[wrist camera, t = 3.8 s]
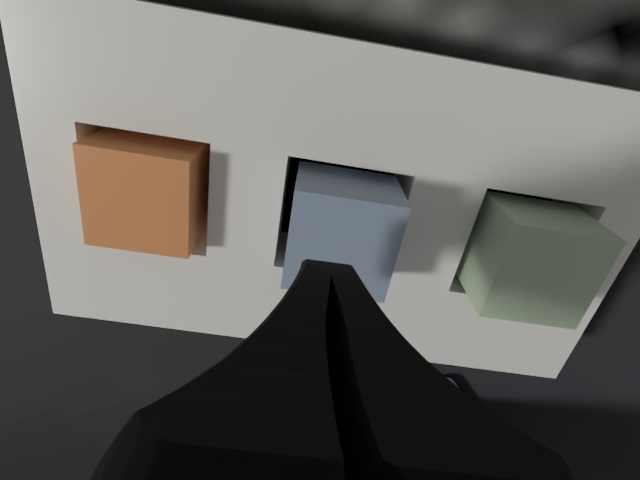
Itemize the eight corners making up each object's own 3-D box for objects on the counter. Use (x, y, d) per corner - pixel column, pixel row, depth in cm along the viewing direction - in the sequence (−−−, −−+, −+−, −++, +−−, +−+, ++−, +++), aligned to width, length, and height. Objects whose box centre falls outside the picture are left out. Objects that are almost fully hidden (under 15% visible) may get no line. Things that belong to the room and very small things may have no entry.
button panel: (650, 92, 15) (717, 106, 13) (526, 334, 21) (555, 378, 18) (54, -17, 14) (-8, -26, 11) (89, 274, 20) (53, 313, 17)
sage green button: (575, 205, 16) (627, 241, 13) (536, 282, 17) (575, 329, 15) (484, 190, 15) (518, 225, 13) (454, 270, 17) (478, 316, 14)
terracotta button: (212, 138, 15) (189, 161, 13) (209, 222, 17) (187, 259, 14) (116, 122, 15) (71, 143, 13) (122, 209, 17) (84, 244, 14)
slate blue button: (396, 176, 15) (411, 208, 12) (374, 259, 17) (383, 303, 14) (299, 160, 15) (294, 190, 12) (287, 246, 16) (280, 288, 14)
